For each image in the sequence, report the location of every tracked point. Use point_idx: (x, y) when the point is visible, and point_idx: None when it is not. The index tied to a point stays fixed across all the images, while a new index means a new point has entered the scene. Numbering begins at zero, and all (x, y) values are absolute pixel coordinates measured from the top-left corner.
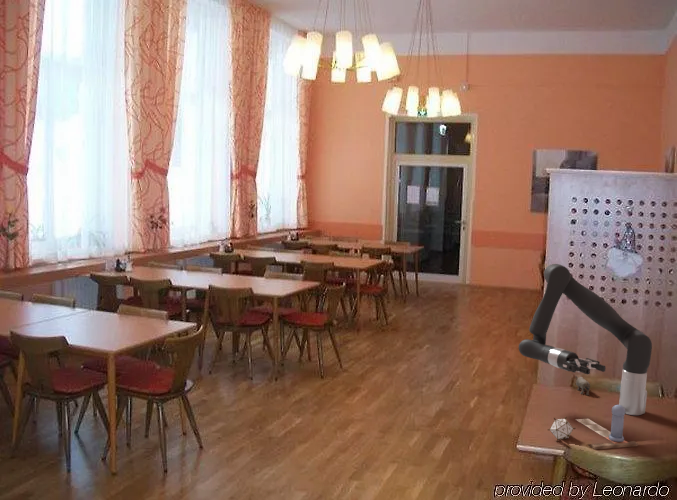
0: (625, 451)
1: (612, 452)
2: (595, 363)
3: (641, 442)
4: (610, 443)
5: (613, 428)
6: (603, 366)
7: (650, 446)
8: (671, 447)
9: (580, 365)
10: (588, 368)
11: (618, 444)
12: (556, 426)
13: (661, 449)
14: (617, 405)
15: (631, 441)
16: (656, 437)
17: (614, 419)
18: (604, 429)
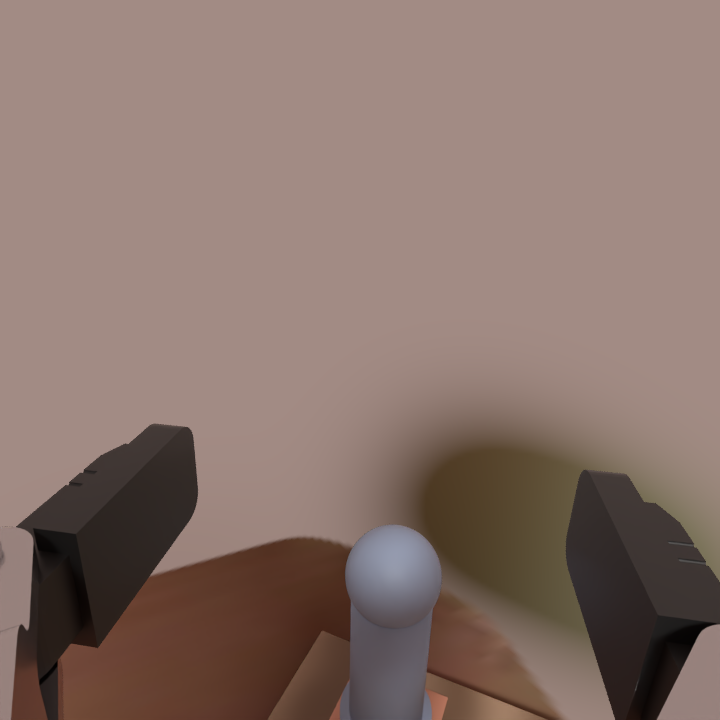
0: (447, 644)
1: (529, 674)
2: (38, 562)
3: (249, 653)
4: (470, 715)
5: (426, 671)
6: (183, 436)
7: (271, 608)
8: (208, 559)
9: (696, 653)
10: (609, 474)
11: (437, 679)
12: None
13: (269, 571)
14: (409, 541)
15: (324, 660)
16: (104, 641)
17: (431, 620)
18: None
